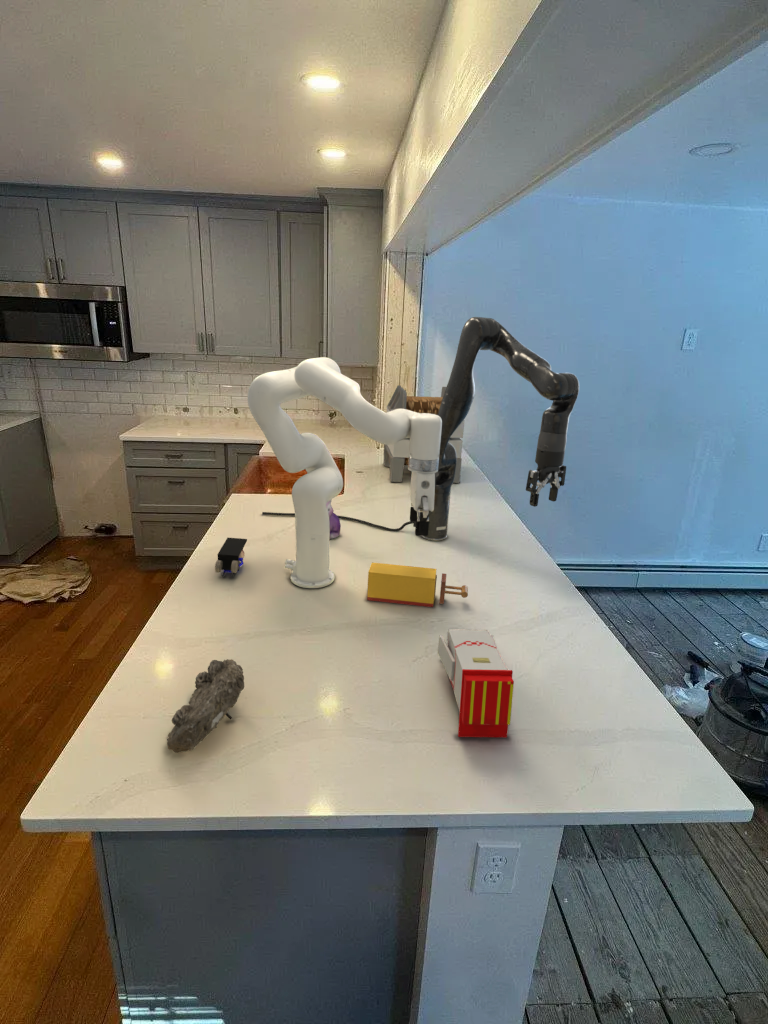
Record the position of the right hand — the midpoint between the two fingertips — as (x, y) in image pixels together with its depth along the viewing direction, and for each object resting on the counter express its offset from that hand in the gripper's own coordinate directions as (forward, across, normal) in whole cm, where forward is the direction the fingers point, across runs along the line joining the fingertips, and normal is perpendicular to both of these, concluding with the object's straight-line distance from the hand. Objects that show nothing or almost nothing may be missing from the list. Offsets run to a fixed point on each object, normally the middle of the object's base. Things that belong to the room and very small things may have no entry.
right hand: (542, 503), depth 161 cm
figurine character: (+25, +71, -54) cm, 92 cm away
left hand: (+3, +38, -10) cm, 40 cm away
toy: (+24, +53, +26) cm, 64 cm away
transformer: (+25, -48, -106) cm, 119 cm away
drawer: (+24, +35, -8) cm, 43 cm away
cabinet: (+25, +40, -13) cm, 49 cm away
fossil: (+25, +100, +4) cm, 103 cm away
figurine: (+25, +32, -62) cm, 74 cm away
